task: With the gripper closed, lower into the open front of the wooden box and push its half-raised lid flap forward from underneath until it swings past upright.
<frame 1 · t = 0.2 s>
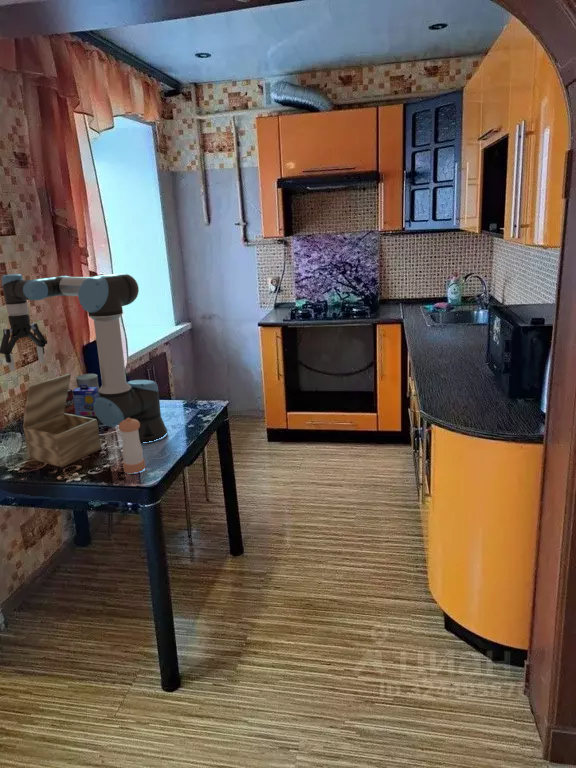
hand: (27, 366, 225), 28 cm above the table, tool pointing down, fingers open, 13 cm apart
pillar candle: (90, 404, 266), on the table
supplement box: (67, 428, 235), on the table
wooden box: (65, 453, 207), on the table
ink cartridge box: (88, 414, 251), on the table
lid flap: (47, 399, 204), point 20 cm above the table, hinge at 65.0°
salt shaker: (135, 471, 191), on the table
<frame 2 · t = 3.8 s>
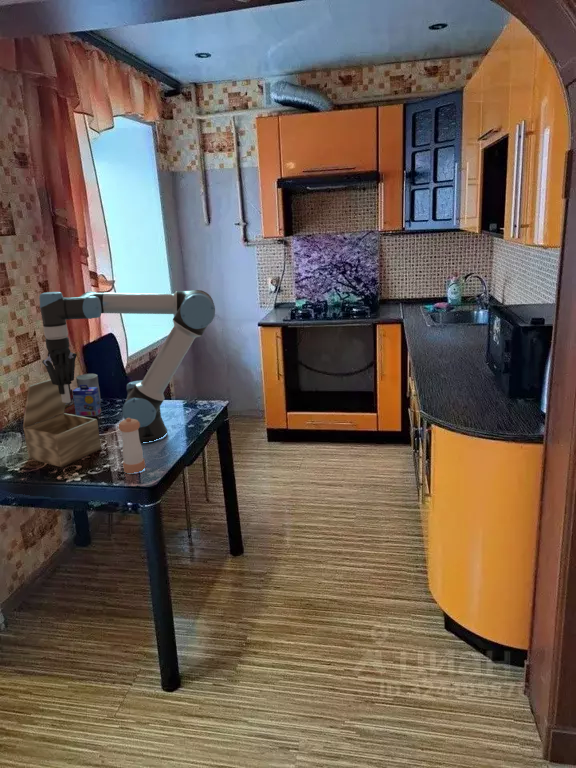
hand: (66, 401, 199), 21 cm above the table, tool pointing down, fingers closed
nothing on the table moved.
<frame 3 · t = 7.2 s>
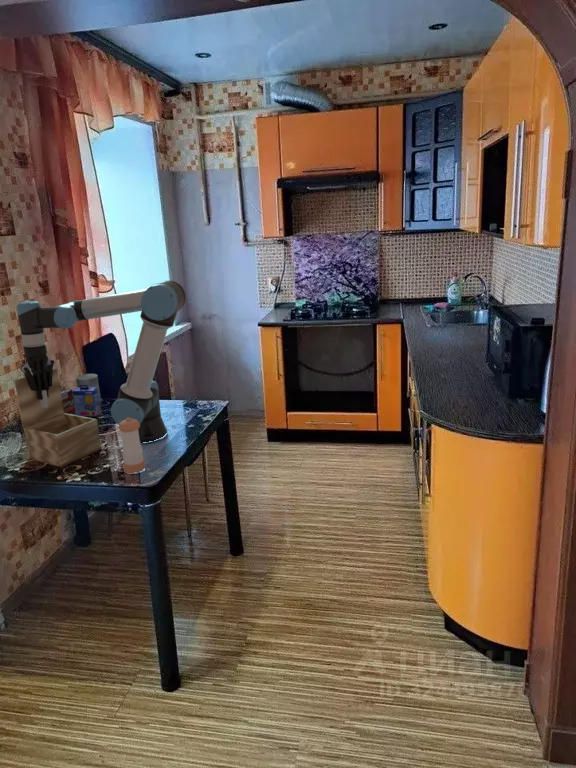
hand: (44, 406, 206), 18 cm above the table, tool pointing down, fingers closed
lid flap: (40, 396, 206), point 21 cm above the table, hinge at 89.3°, touching gripper, hand
everything else where it was.
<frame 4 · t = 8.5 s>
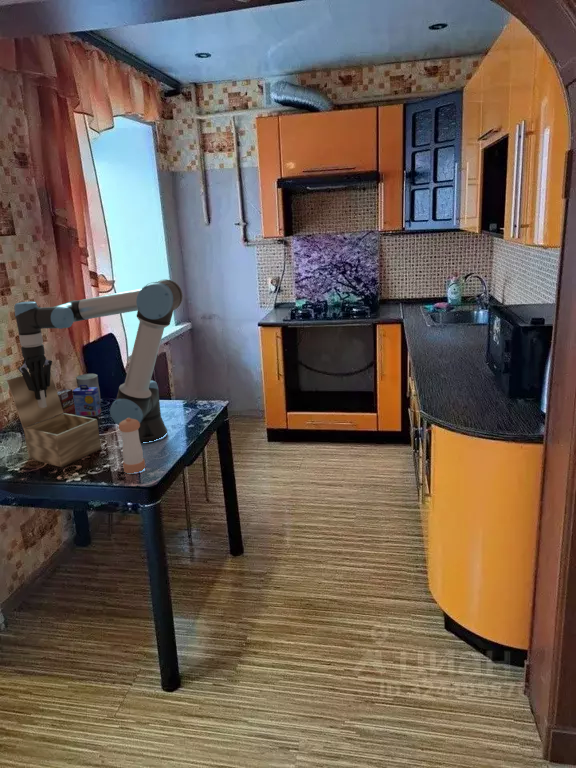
hand: (42, 406, 207), 17 cm above the table, tool pointing down, fingers closed
lid flap: (36, 397, 207), point 21 cm above the table, hinge at 103.6°
everything else where it was.
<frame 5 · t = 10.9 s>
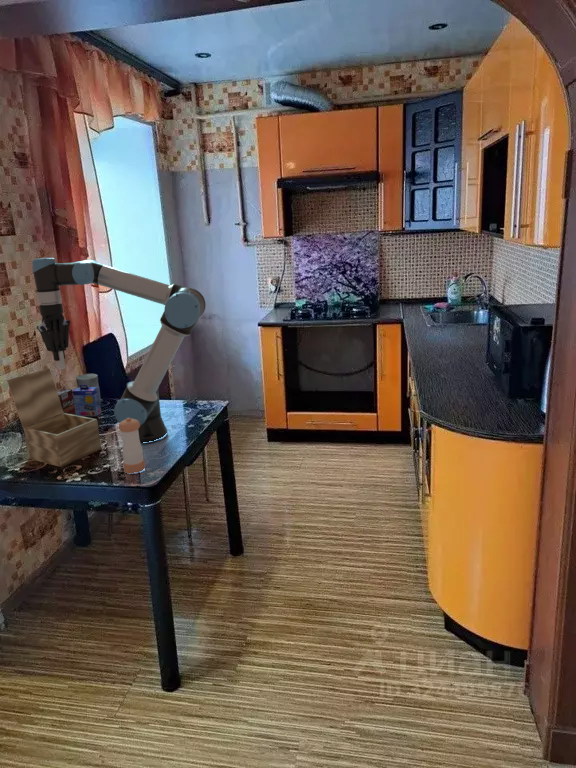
hand: (61, 368, 200), 32 cm above the table, tool pointing down, fingers closed
nothing on the table moved.
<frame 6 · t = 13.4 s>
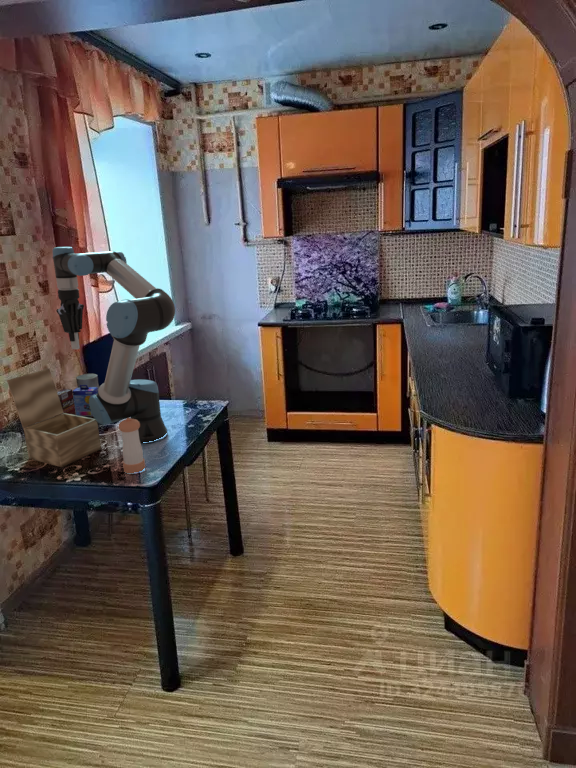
hand: (75, 348, 218), 35 cm above the table, tool pointing down, fingers closed
nothing on the table moved.
at the end: lid flap at +104° (first picture: +65°) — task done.
